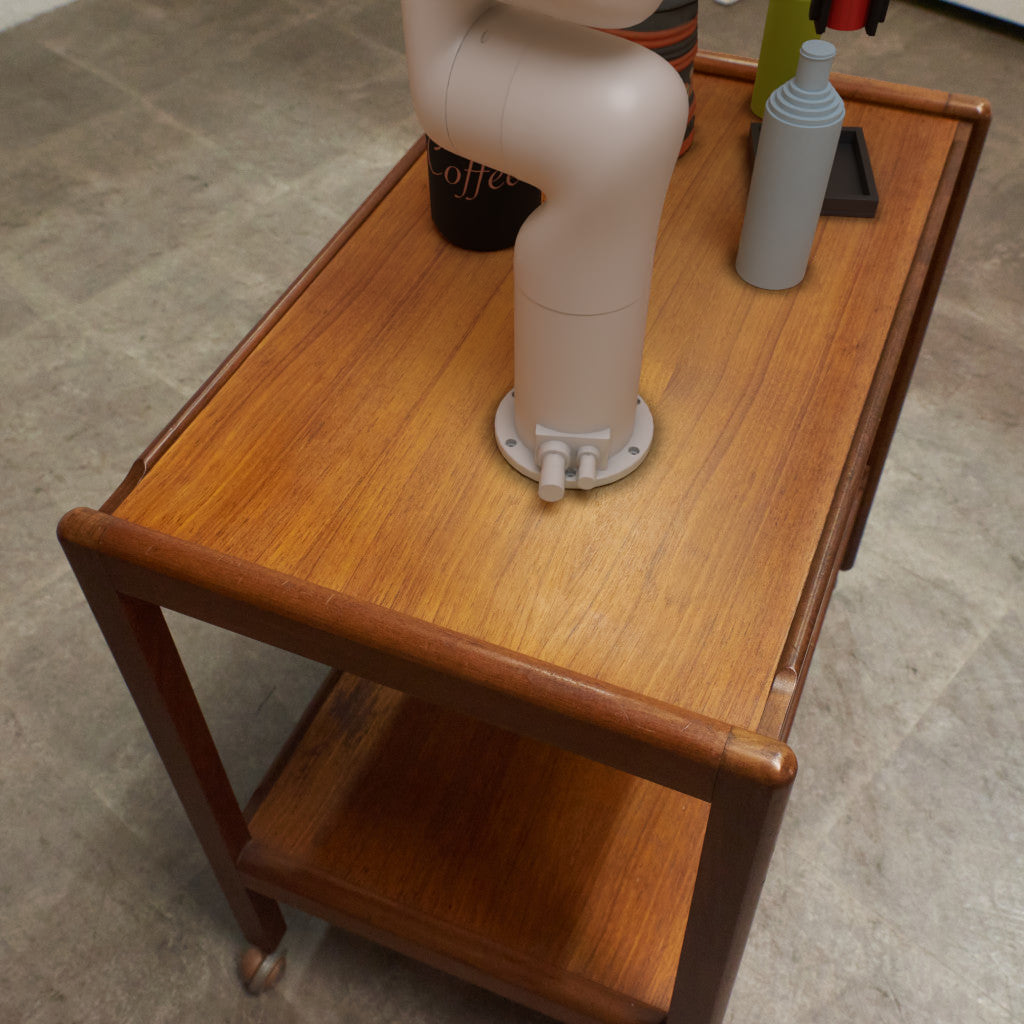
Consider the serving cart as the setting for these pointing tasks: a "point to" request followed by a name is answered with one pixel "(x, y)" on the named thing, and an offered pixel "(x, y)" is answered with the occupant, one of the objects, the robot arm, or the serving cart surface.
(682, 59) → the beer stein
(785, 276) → the bottle
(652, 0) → the robot arm
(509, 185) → the coffee jar
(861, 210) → the tray
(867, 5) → the cap
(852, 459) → the serving cart surface
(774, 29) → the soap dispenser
